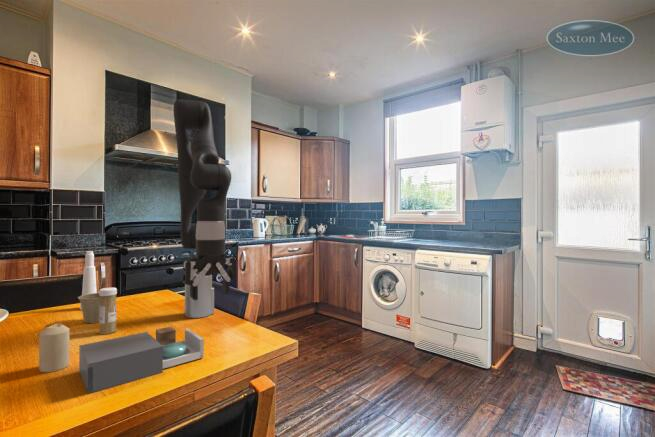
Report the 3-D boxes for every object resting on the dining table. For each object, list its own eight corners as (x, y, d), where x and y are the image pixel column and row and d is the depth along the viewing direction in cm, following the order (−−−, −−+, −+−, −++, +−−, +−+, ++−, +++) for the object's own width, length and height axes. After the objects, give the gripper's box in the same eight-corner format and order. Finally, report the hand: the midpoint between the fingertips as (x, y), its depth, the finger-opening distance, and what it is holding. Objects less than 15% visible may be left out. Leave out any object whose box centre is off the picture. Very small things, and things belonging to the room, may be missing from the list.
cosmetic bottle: (91, 310, 126) (91, 252, 126) (75, 310, 126) (76, 252, 126) (102, 306, 132) (102, 250, 132) (87, 306, 132) (87, 250, 132)
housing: (146, 355, 86) (146, 331, 86) (162, 372, 77) (162, 346, 77) (79, 371, 77) (79, 345, 77) (88, 393, 67) (88, 364, 67)
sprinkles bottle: (116, 332, 102) (117, 289, 102) (98, 335, 100) (98, 290, 100) (116, 328, 106) (116, 286, 106) (99, 331, 104) (99, 287, 104)
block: (170, 340, 96) (170, 326, 96) (175, 344, 93) (175, 330, 93) (155, 343, 94) (155, 329, 94) (160, 348, 91) (160, 333, 91)
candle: (50, 362, 81) (50, 321, 81) (74, 362, 82) (75, 321, 82) (32, 373, 76) (32, 329, 76) (58, 372, 76) (58, 328, 76)
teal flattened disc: (181, 346, 89) (181, 340, 89) (189, 353, 84) (190, 347, 84) (156, 352, 85) (156, 346, 85) (164, 360, 80) (164, 353, 80)
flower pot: (71, 323, 111) (71, 297, 111) (99, 315, 120) (99, 291, 120) (89, 326, 108) (90, 299, 108) (117, 318, 117) (118, 293, 117)
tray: (187, 345, 92) (187, 328, 92) (203, 357, 84) (203, 339, 84) (136, 358, 83) (136, 339, 83) (148, 372, 76) (148, 352, 76)
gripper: (188, 239, 84) (188, 304, 84) (241, 237, 93) (240, 295, 93) (178, 237, 89) (178, 298, 90) (229, 236, 99) (229, 291, 99)
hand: (210, 297), depth 91 cm, fingers open, 8 cm apart
